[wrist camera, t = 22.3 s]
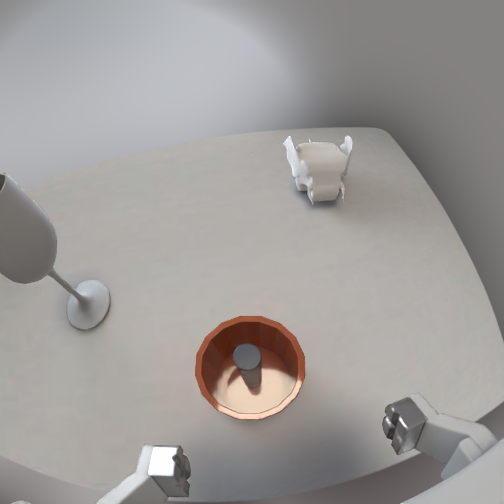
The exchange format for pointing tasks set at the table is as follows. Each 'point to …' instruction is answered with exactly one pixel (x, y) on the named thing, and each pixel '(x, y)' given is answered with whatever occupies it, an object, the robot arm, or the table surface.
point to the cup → (229, 379)
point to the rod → (249, 364)
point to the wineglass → (41, 254)
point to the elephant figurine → (319, 167)
